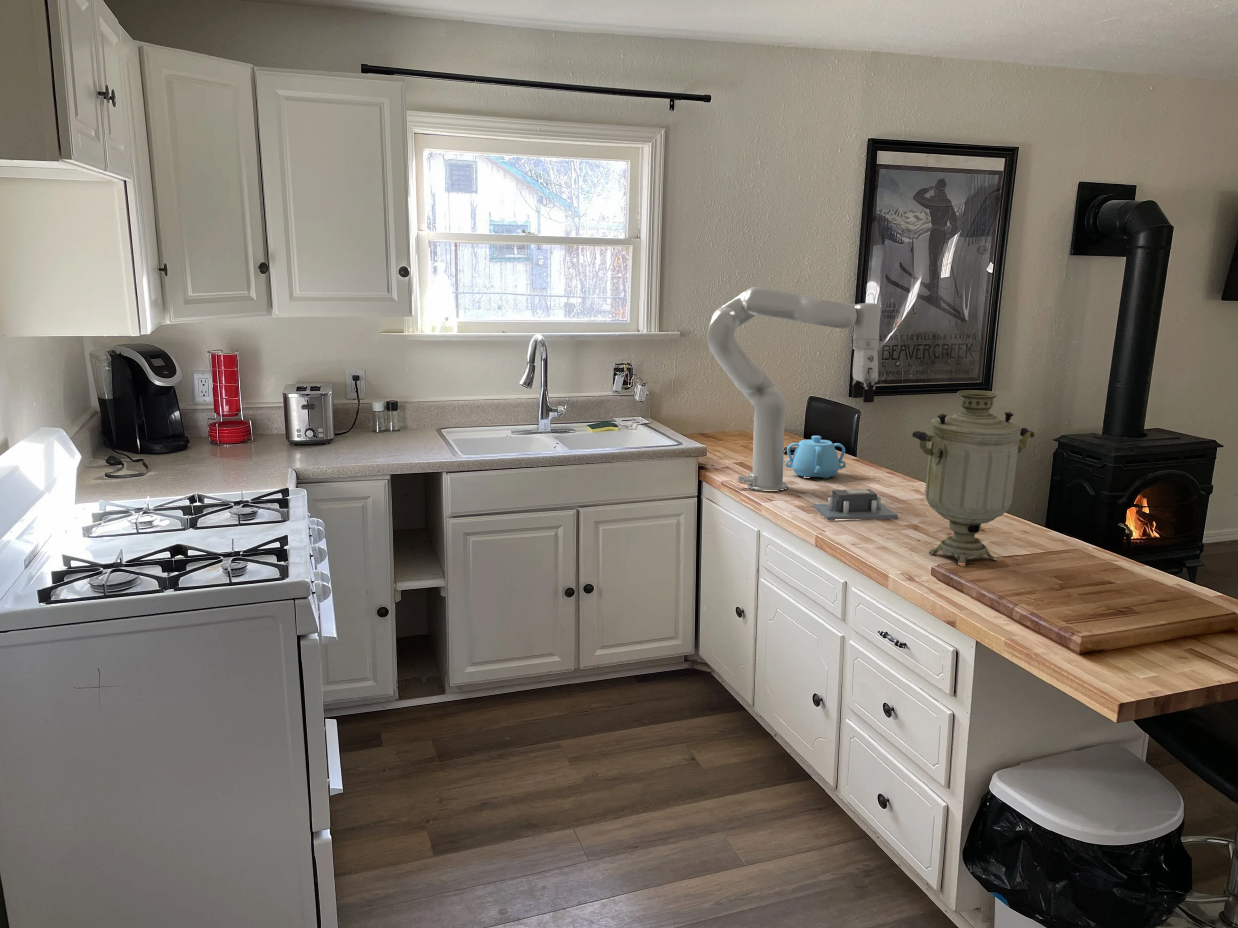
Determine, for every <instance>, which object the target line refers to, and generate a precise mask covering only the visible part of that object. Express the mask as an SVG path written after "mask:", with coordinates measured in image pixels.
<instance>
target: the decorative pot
mask: <svg viewBox="0 0 1238 928" xmlns="http://www.w3.org/2000/svg"><path fill="white" fill-rule="evenodd" d="M795 446H796V448H795V450H794V453H793V456H792V454H791V448H792V447H795ZM835 447H840V449H841V454H840V456H839V455H838V453H837V450H836V448H835ZM786 453H787V457H788V459H787V460H786V461H785V463H784V465H785V468H788V469H792V470H793V472H794V473H795V474H796V475H797V476H800V477H803V476H805V477H810V478H811V477H812V478H821V479H822V478H830V477H834V476H836V474H837V473H838V472H839V470H842V469H845V468H846V465H847V463H846V461H844V460H843V459H844V456H845V454H846V448H845V446H844V445H843V444H842V443H839V442H837V443H833V442H832V441H831V440H828V439H822V435H821V436H820V435H812V436H811V439H802V440H800V441H799V442H791V443H790V444H789V445H788V446H787V447H786ZM788 463H790V464H788ZM841 464H842V465H841Z"/></svg>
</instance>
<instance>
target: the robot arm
mask: <svg viewBox="0 0 1238 928" xmlns="http://www.w3.org/2000/svg"><path fill="white" fill-rule="evenodd" d="M756 316H758V317H762V318H769V319H775V320H782V321H788V322H793V323H798V324H799V323H801V324H809V325H815V326H816V325H817V326H823V327H828V328H834V329H839V330H840V329H841V330H845V329H850V328H851V327H853V331H852V332H853V334H852V336H853V338H852V350H854V352H853V353H854V354H853V359H852V360H853V361H852V395H851V397H852V398H853V399H862V402H863V403H874V401H875V389H876V384H877V382H878V381H879V357H878V356H879V355H878V350H879V340H880V339H879V337H880V334H879V333H880V320H881V307H880V305H879V304H878V303H875V302H874V303H873V302H872V303H871V302H865V303H864V302H863V303H849V302H839V301H831V300H825V299H820V298H815V297H810V296H809V295H805V294H801V293H796V292H790V291H783V290H777V289H771V288H765V287H758V286H752V287H749V288H747V289H746V290H745V291H743V292H742V293H740V294H739V295H738V296H736V297H734V298H733V299H731V300H730V301H728V302H727V303H725V304H724V305H722V306H720V307H719V308H718V309H716V310H715V311H714V312H713V314H712V316H711V320H710V322H709V326H708V329H707V334H706V339H707V345H708V349H709V351H710V353H711V355H712V357H713V358H714V359H715V360H716V362H717V363H718V364H719V365H720V367H721V369H722V370H723V371H724V372H725V373H726V375H727V377H729V378H730V380H731V381H732V383H733V384H734V386H735V387H736V388H737V389H738V390H739V391H741V393H742V394H743V395H744V396H745V397H746V398H747V401H749V403H750V404H751V405H752V407H753V433H752V434H753V443H752V471H750V472H749V474H746V475H737V477H736V478H737V482H739V483H740V482H741V483H743V484H744V483H746V485H747V486H748V487H749V488H752V489H756V490H781V489H785V488H787V489H788V483H786V482H784V481H783V480H784V479H783V478H784V451H785V450H784V448H785V424H786V423H785V422H786V413H787V411H786V410H787V406H786V405H787V404H786V400H785V397H784V395H783V393H782V391H781V390H780V389H779V388H778V387H777V386H776V384H774V382H773V381H772V379H771V378H770V377H769V376H768V374H766V373H765V371H764V370H763V368H762V367H761V366H760V365H759V364H758V363H757V362H756V361H754V360H752V359H751V357H750V356H749V355H748V354H747V352H745V350H744V349H743V347H741V345H740V344H739V342H738V341H737V339H736V331H737V329H738V328H740V327H742V326H743V325H744V324H746V323H748V322H750V320H752V319H754V318H755V317H756ZM747 486H746V487H747ZM748 487H747V488H748ZM749 488H748V489H749ZM752 489H751V490H752Z"/></svg>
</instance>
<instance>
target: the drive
mask: <svg viewBox="0 0 1238 928" xmlns="http://www.w3.org/2000/svg"><path fill="white" fill-rule="evenodd" d="M877 496H878V494H877V493H876V492H875V491H873V490H872V489H871V488H863V489H860V488H859V489H832V491H831V497H832V498H834V499H833V509H835V510H836V511H837V512H843V507H844V501H849V511H848V512H871V505H872V500H876V501H877Z"/></svg>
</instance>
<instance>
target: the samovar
mask: <svg viewBox="0 0 1238 928" xmlns="http://www.w3.org/2000/svg"><path fill="white" fill-rule="evenodd" d="M957 394H958V395H959V396H960V397H961V402H960V406H961V407H962V409H963V410H962V411H959V412H956V413H954V414H953V415H948V414H944V413H941V414H938V415H937V416H936V417H934V418H932V419H931V420H930V421H929V423H930V424H931V430H932V434H931V435H930V434H928V433H926V432H924V431H920V430H914V431H913V432H912V434H911V436H912V437H913V438H915V439H918V441H919V445H918V446H919V449H920V450H921V451H922V452H923V454H925V455H927V456H928V460H927V468H926V479H925V489H924V496H925V500H926V502H927V504H928V506H929V507H930V508H931V509H932V510H934V511H935V512H936V513H937V514H938V515H939V516H940V517H942V518H943V519H946V520H948V521H949V524H948V526H949V527H948V528H949V530H950V531H952V532H953V535H949V536H947V537H946V538H945V539H942V541H940V543H939V544H938V545H937V546H936V547H934V548H931V549H930V550H929V551H928V555H930V556H932V555H934V554H937V553H938V552H940V551H941V552H942V553H943V554H945V555H948V556H950V555H953V556H954V557H955V558H956V559H957V560H958V561H957V562H956V564H957V563H966V564H967V562H968V560H971V559H974V558H975V559H979V558H980V557H981V558H982V557H984V556H986V557H987V558H988V559H991V560H993V559H994V558H996V557H995V556H994V555H992V554H991V553H990V551H989V548H987V546H986V545H985V544H983V543H982V541H981V540H980V539H979V538H976V534H979V533H980V532H981V528H982V527H981V526H982V524H988V523H990V522H992V521H994V520H995V519H997V518H999V517H1002V516H1003V515H1004V514H1005V513H1006V512H1007V511H1008V510H1009V509H1010V507H1011V505H1012V502H1013V494H1014V486H1015V478H1016V477H1015V476H1016V473H1017V472H1016V470H1017V463H1018V455H1019V453H1021V452H1022V451H1023V450H1024V449H1026V446H1027V442H1028V439H1030V438H1031V439H1032V438H1033V439H1034V438H1035V435H1036V433H1035V432H1034V431H1031V430H1029V429H1028V428H1026V427H1021V426H1019V425H1018V424H1016V423H1013V422H1011V421H1010V420H1011V419H1012V417H1013V416H1015V414H1014V413H1013V412H1011V411H1005V412H1004V415H1005V417H1004V419H1005V420H1003V419H999V417H998V416H996V415H994V414H993V413H990V410H991V409H992V408H993V405H994V401H995V398H997V397H998V396H999V393H998V392H995V391H988V390H977V389H975V390H974V389H973V390H972V389H970V390H969V389H968V390H966V389H965V390H959V391H957ZM1020 436H1021V437H1022V438H1020V439H1019V437H1020ZM1018 439H1019V444H1018V445H1017V441H1018ZM927 442H929V447H927Z"/></svg>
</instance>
